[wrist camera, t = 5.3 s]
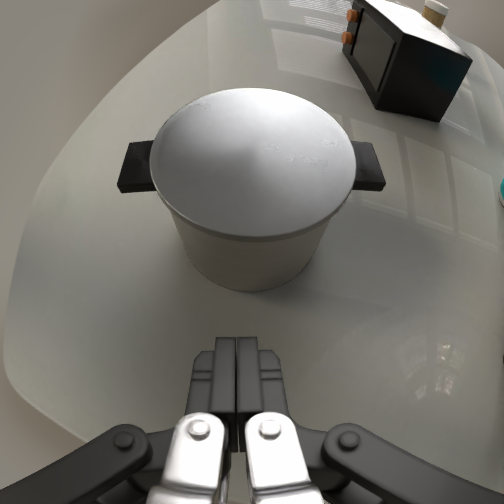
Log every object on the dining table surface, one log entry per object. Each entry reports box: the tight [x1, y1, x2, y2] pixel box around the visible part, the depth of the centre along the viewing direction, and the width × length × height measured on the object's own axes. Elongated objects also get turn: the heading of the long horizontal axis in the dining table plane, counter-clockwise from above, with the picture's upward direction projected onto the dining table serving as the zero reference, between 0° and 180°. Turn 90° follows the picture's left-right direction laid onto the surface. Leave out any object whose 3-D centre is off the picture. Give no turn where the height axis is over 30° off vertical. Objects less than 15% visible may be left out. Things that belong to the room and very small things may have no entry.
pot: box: [117, 88, 386, 292], centre depth 18 cm, size 14×11×8 cm
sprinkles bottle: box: [422, 0, 449, 30], centre depth 34 cm, size 5×5×13 cm
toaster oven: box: [342, 0, 473, 123], centre depth 27 cm, size 11×16×11 cm
